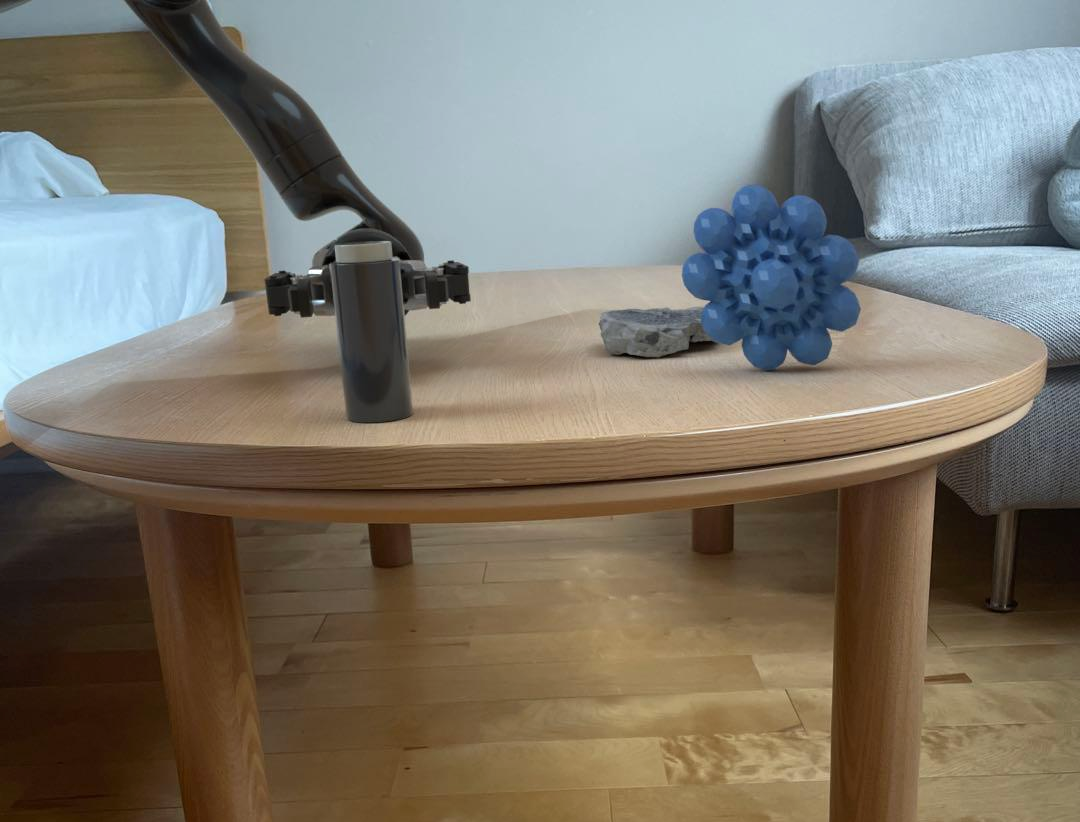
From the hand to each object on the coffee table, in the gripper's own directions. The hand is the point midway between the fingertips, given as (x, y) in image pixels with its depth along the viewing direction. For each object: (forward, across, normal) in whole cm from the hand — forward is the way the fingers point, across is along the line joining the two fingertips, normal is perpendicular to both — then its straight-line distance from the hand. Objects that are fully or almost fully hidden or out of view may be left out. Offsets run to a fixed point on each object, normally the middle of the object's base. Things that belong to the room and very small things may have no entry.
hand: (369, 296), depth 69 cm
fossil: (-9, +22, +6) cm, 25 cm away
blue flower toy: (+5, +26, +6) cm, 27 cm away
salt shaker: (+9, 0, +6) cm, 11 cm away
